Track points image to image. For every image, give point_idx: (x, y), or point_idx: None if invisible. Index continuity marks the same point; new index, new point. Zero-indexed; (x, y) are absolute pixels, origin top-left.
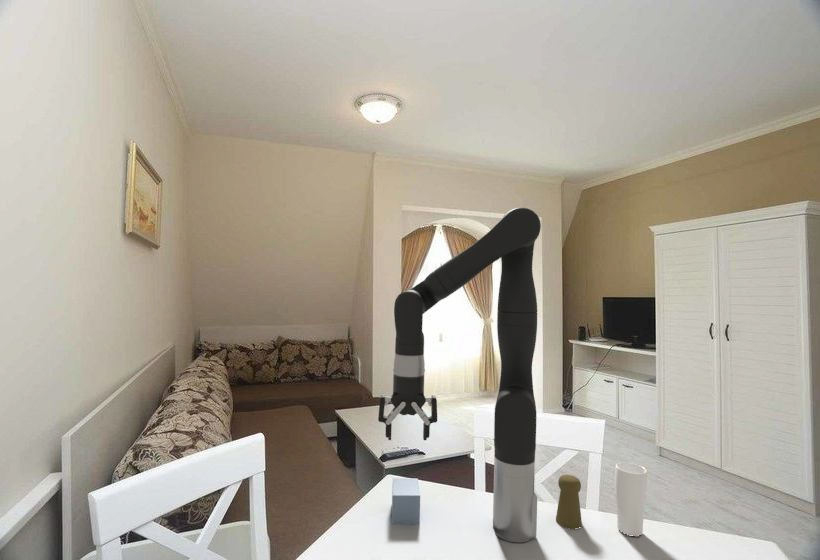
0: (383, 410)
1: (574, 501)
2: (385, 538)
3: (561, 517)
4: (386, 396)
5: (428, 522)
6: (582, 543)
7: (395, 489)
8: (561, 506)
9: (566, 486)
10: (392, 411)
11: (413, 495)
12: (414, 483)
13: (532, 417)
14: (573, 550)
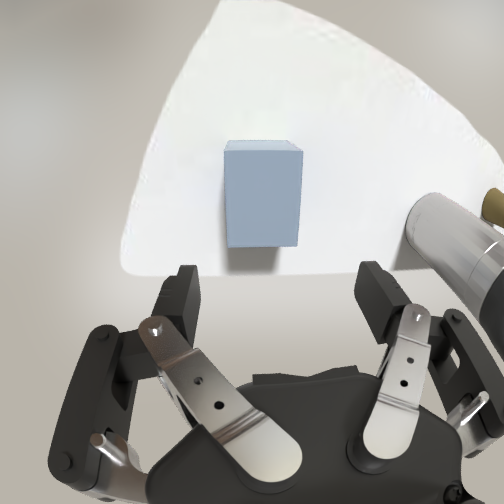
0: (125, 426)
1: None
2: (220, 239)
3: (489, 215)
4: (109, 496)
5: (306, 188)
6: None
7: (233, 218)
8: (500, 218)
9: None
10: (181, 408)
11: (280, 246)
12: (289, 182)
13: None
14: None
